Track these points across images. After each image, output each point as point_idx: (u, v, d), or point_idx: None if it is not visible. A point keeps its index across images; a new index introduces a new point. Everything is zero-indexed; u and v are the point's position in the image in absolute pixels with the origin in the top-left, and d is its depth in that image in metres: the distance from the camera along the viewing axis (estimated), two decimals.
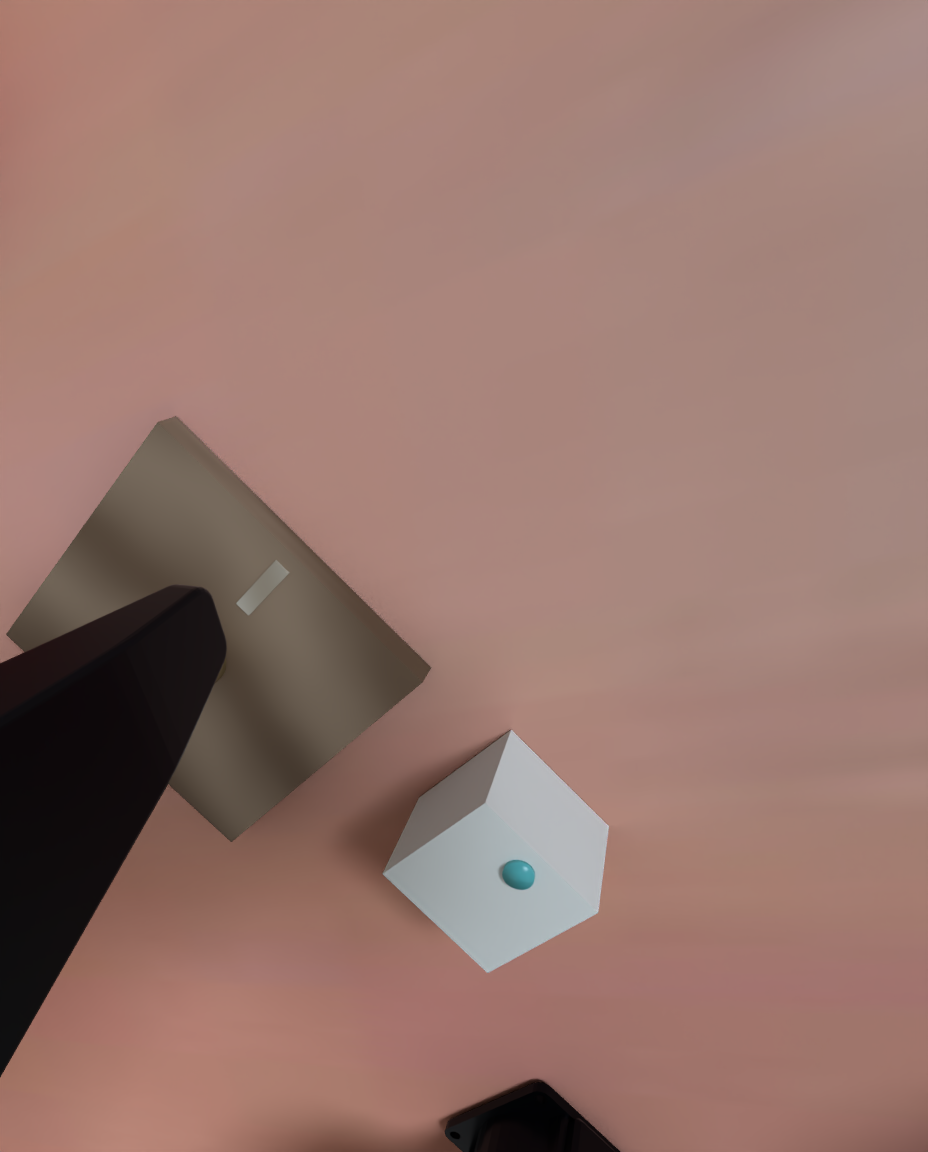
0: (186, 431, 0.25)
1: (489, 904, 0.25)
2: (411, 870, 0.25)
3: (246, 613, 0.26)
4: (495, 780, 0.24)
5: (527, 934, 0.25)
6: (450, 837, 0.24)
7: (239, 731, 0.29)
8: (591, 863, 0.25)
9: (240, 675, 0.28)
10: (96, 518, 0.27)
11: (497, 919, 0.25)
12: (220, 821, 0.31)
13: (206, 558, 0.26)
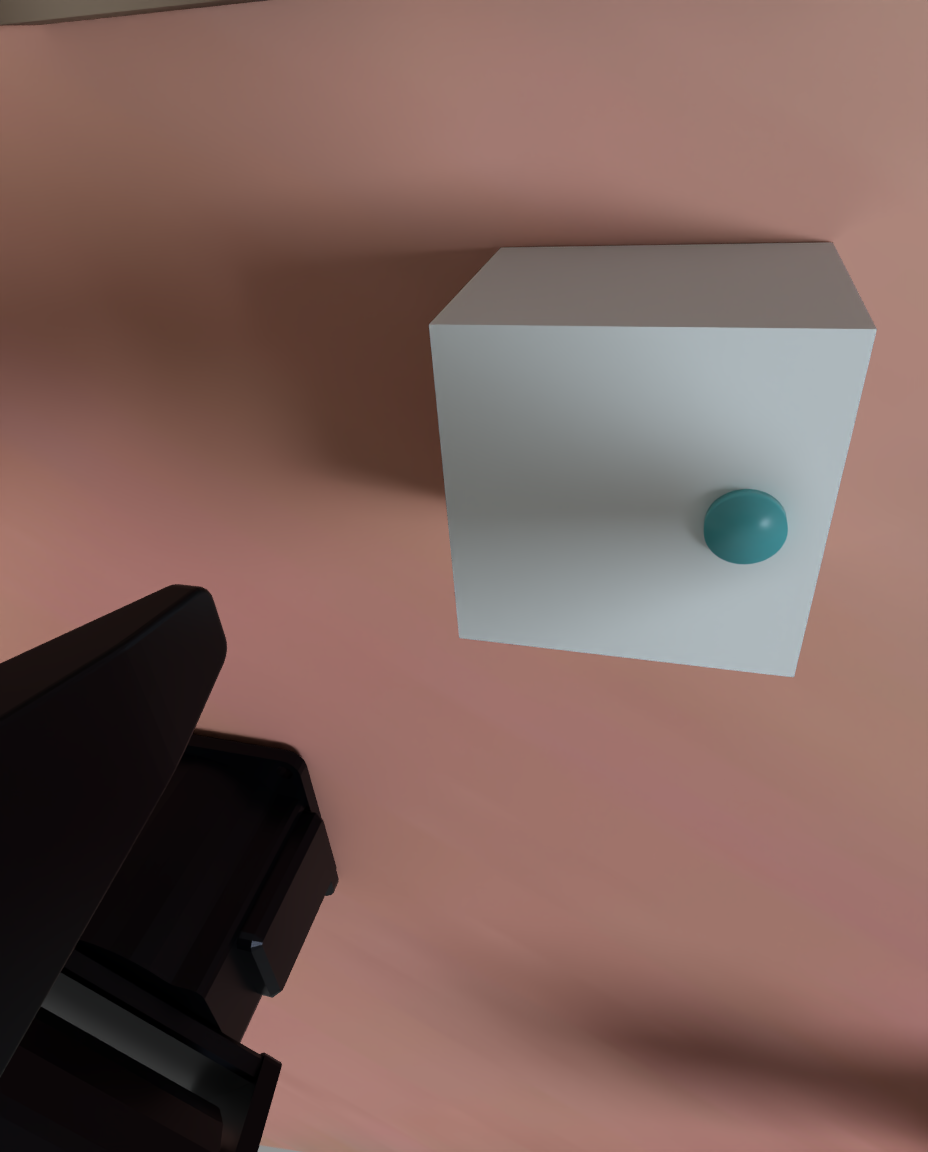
0: None
1: (606, 538, 0.10)
2: (509, 363, 0.09)
3: None
4: None
5: (613, 629, 0.11)
6: (689, 352, 0.09)
7: None
8: None
9: None
10: None
11: (586, 572, 0.11)
12: None
13: None
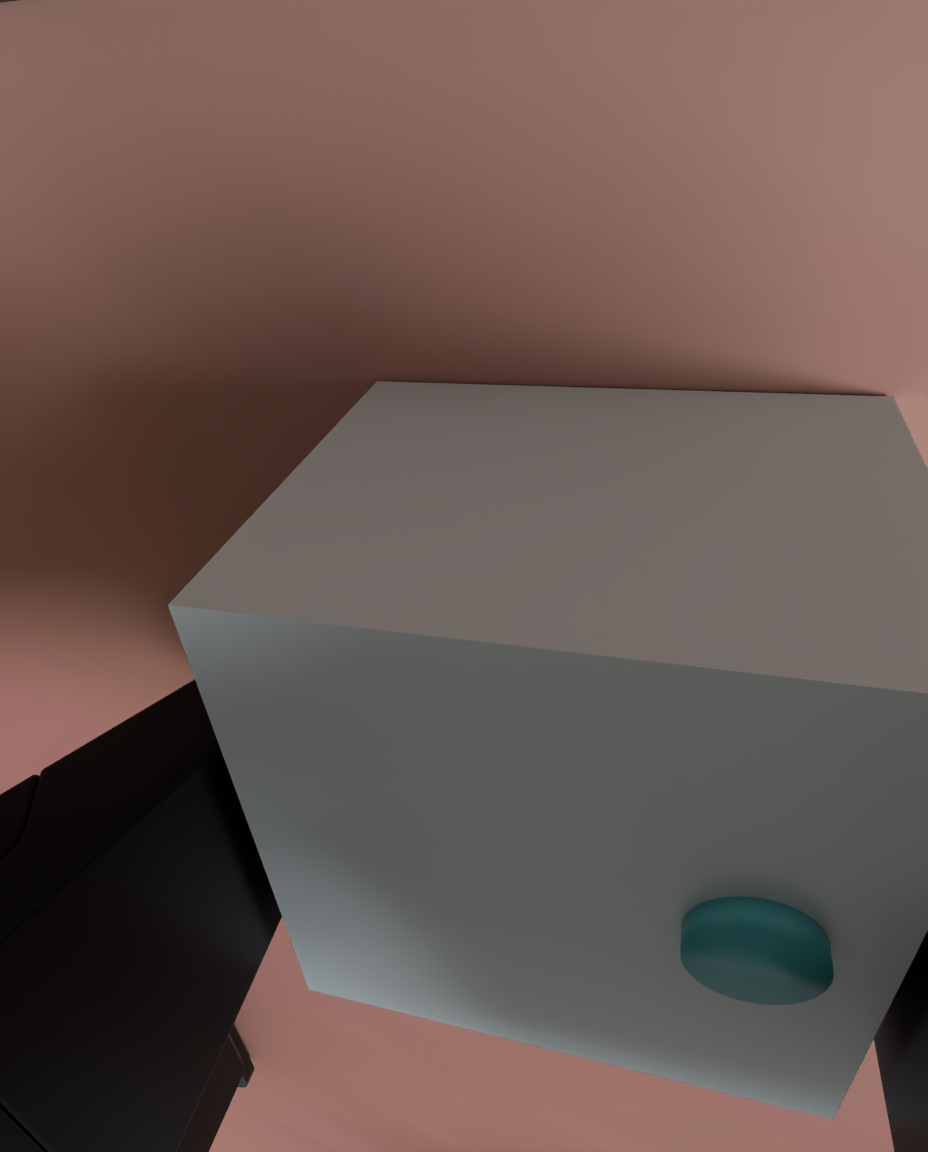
0: None
1: (516, 920, 0.06)
2: (317, 676, 0.05)
3: None
4: None
5: (539, 1020, 0.07)
6: (647, 698, 0.04)
7: None
8: None
9: None
10: None
11: (489, 953, 0.07)
12: None
13: None
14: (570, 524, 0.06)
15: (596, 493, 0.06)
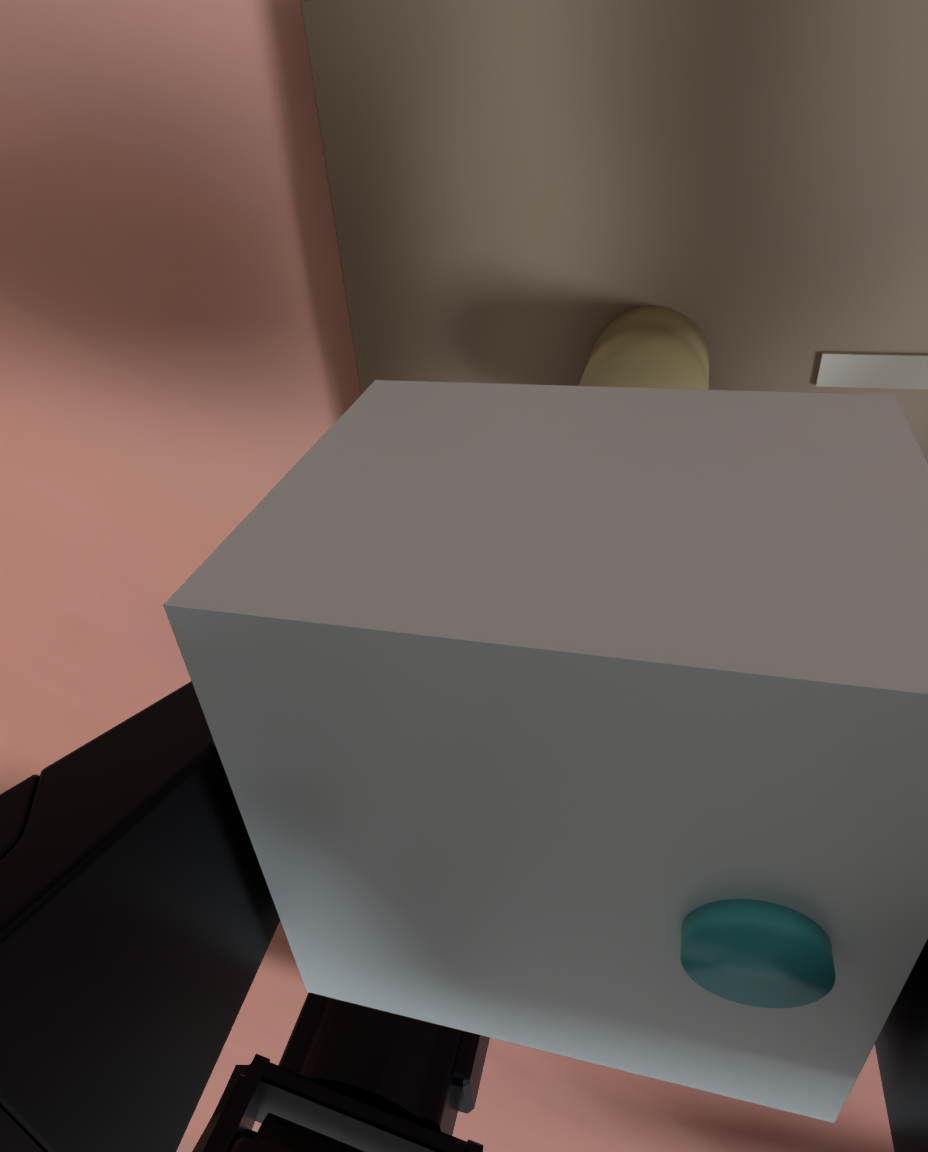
0: None
1: (515, 922, 0.06)
2: (314, 676, 0.05)
3: (812, 378, 0.14)
4: None
5: (538, 1023, 0.07)
6: (647, 699, 0.04)
7: None
8: None
9: None
10: None
11: (488, 955, 0.07)
12: None
13: (871, 246, 0.13)
14: (570, 523, 0.05)
15: (596, 492, 0.06)
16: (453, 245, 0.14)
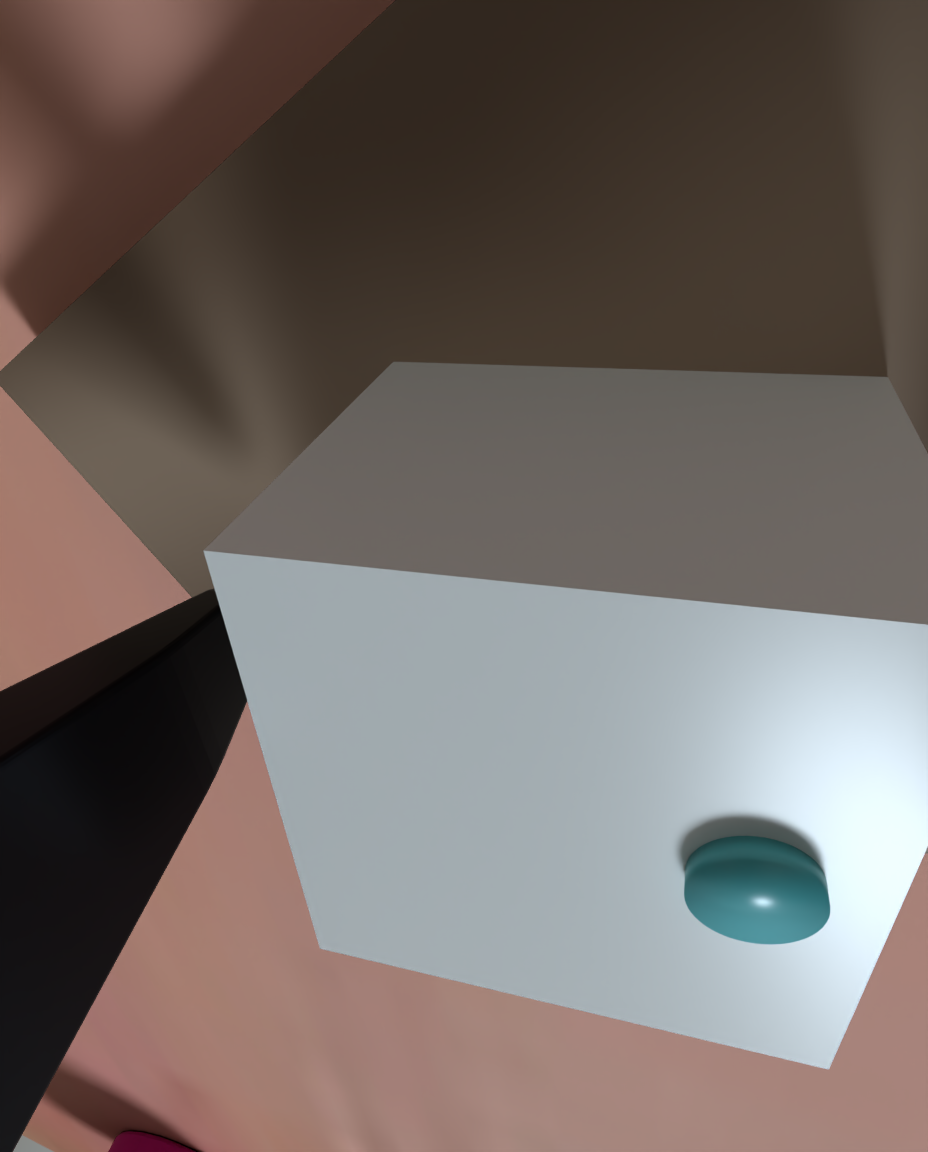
0: None
1: (526, 867, 0.06)
2: (344, 619, 0.05)
3: None
4: None
5: (545, 973, 0.07)
6: (657, 635, 0.05)
7: None
8: None
9: None
10: None
11: (499, 903, 0.07)
12: (55, 374, 0.10)
13: None
14: (583, 483, 0.06)
15: (607, 458, 0.06)
16: (636, 179, 0.07)
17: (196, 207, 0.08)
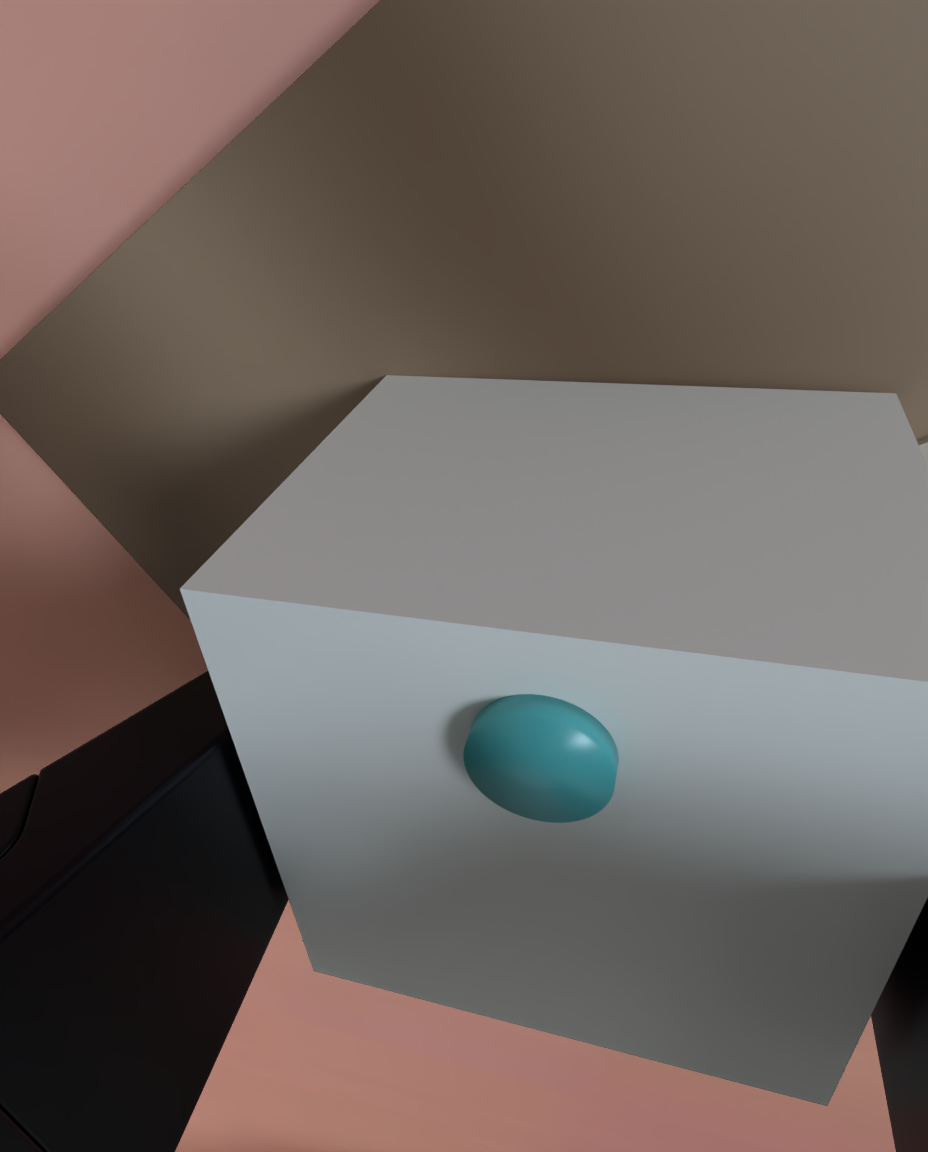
0: None
1: (596, 910, 0.06)
2: (339, 929, 0.07)
3: None
4: (272, 503, 0.06)
5: (816, 944, 0.06)
6: (275, 780, 0.06)
7: None
8: (865, 521, 0.05)
9: None
10: None
11: (670, 944, 0.06)
12: None
13: (847, 276, 0.07)
14: None
15: None
16: None
17: None
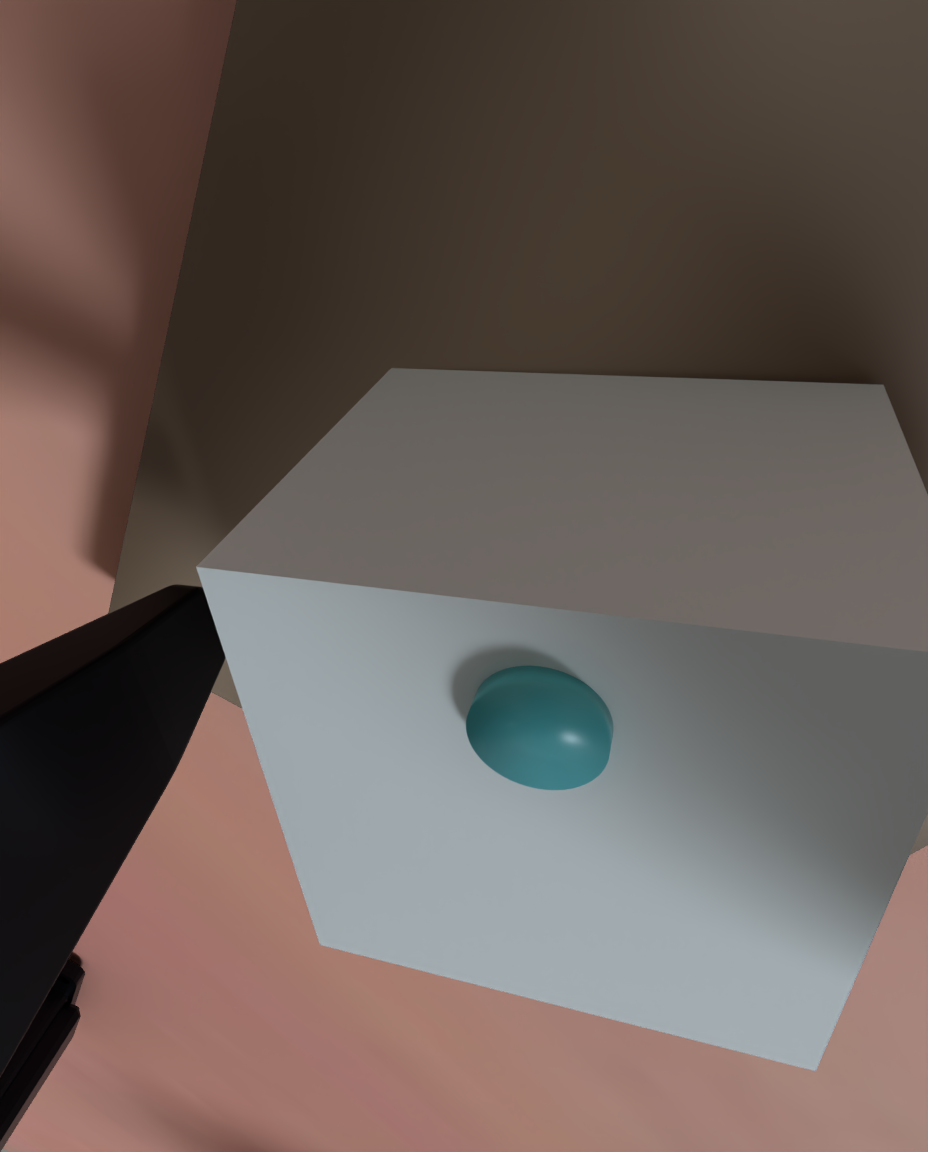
0: None
1: (593, 878, 0.06)
2: (345, 901, 0.08)
3: None
4: (282, 487, 0.06)
5: (802, 908, 0.06)
6: (284, 754, 0.06)
7: None
8: (849, 503, 0.06)
9: None
10: None
11: (664, 911, 0.06)
12: None
13: None
14: None
15: None
16: (413, 249, 0.08)
17: (154, 445, 0.10)
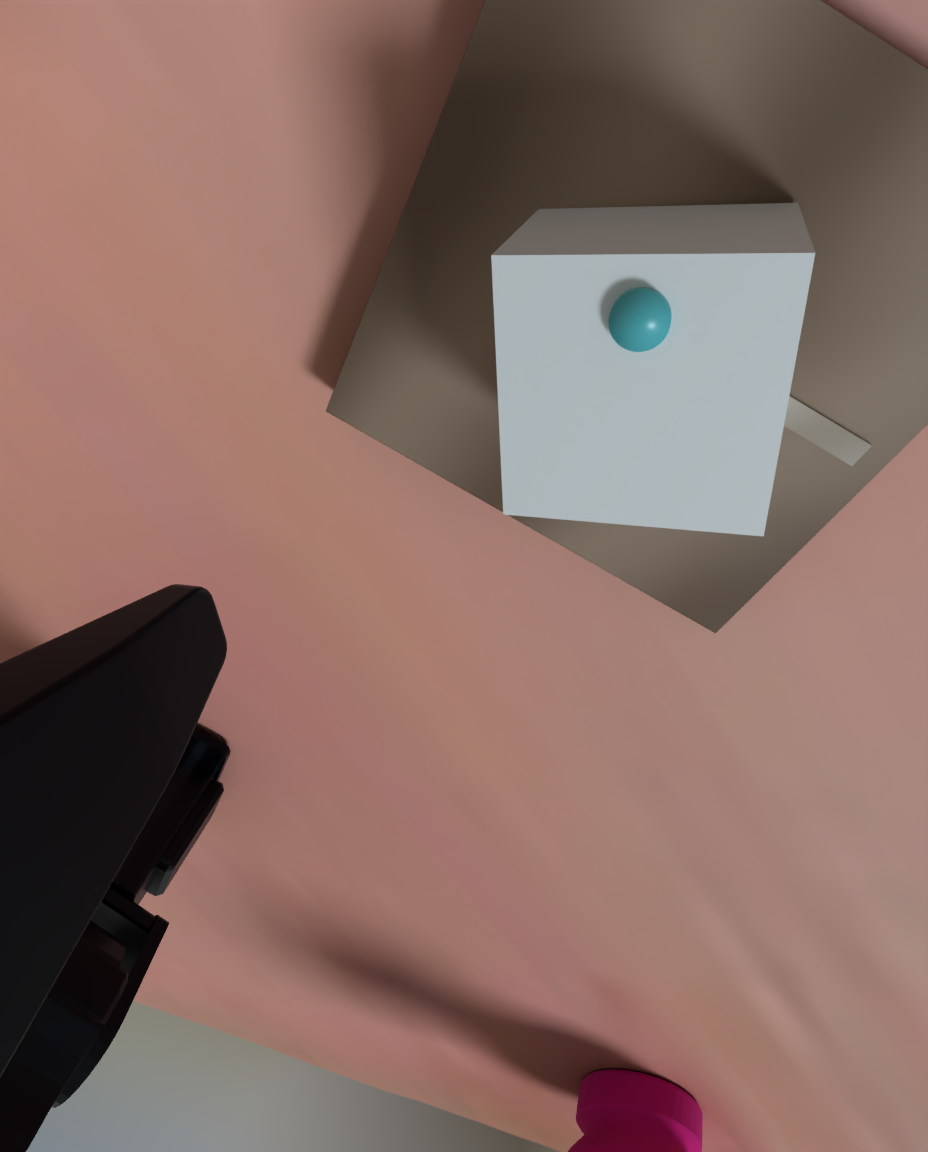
0: None
1: (657, 418, 0.14)
2: (524, 472, 0.15)
3: None
4: (512, 239, 0.14)
5: (752, 413, 0.13)
6: (511, 366, 0.14)
7: None
8: (772, 230, 0.13)
9: None
10: (916, 80, 0.13)
11: (690, 432, 0.14)
12: (352, 390, 0.19)
13: (855, 329, 0.16)
14: None
15: None
16: (558, 139, 0.15)
17: (388, 267, 0.17)
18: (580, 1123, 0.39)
